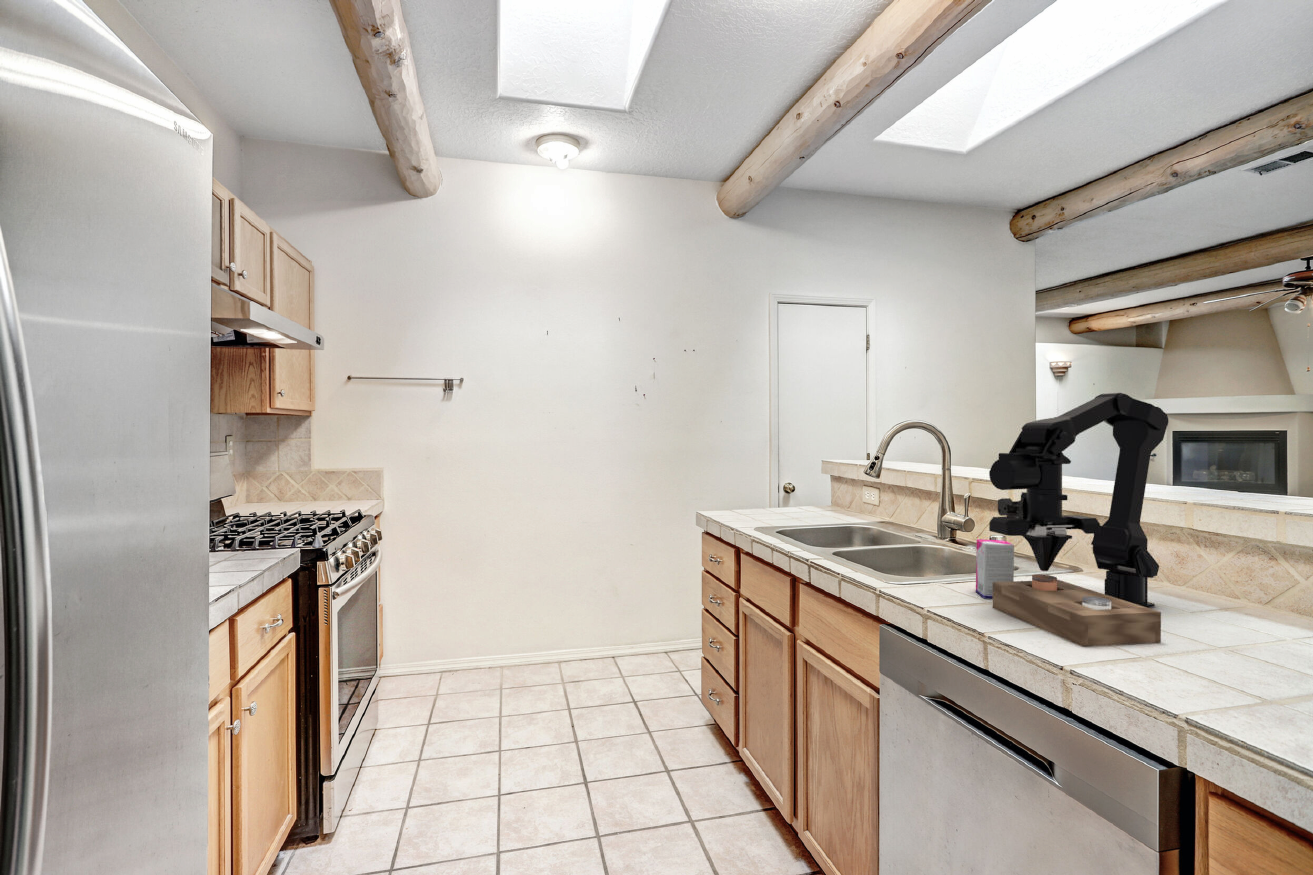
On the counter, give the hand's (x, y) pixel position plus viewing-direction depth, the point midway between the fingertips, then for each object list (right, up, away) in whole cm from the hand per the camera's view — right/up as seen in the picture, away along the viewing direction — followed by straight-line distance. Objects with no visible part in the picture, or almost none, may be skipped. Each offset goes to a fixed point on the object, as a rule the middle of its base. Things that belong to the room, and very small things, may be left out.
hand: (1044, 570), depth 117 cm
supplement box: (-2, -8, +13) cm, 16 cm away
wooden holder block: (+1, -8, -6) cm, 10 cm away
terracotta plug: (0, -7, 0) cm, 7 cm away
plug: (+2, -8, -12) cm, 14 cm away
